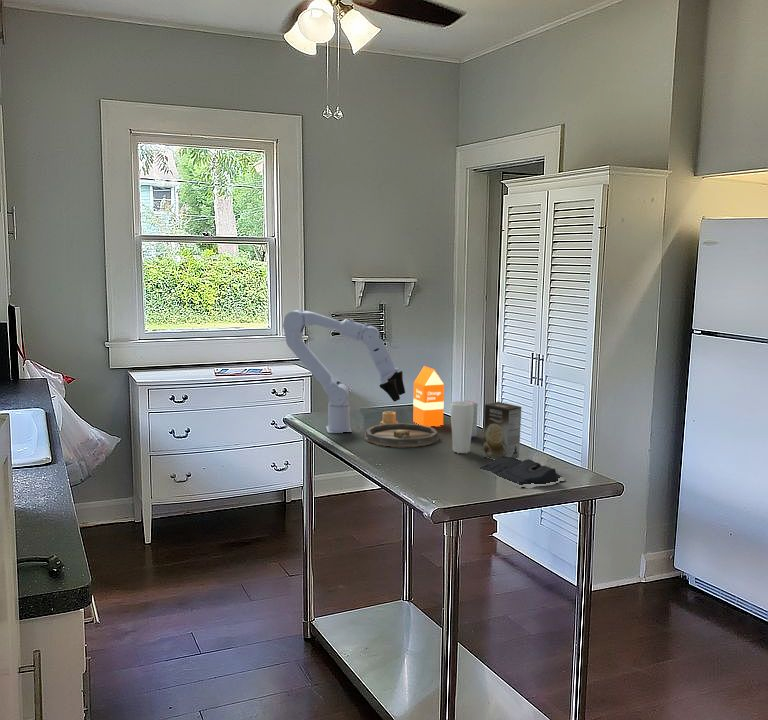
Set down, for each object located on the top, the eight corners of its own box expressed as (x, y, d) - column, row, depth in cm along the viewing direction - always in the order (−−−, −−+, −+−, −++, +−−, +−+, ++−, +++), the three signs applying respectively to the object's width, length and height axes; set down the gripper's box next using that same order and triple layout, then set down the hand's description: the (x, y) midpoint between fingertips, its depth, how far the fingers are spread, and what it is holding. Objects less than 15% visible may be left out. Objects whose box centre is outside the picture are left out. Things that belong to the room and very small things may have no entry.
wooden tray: (360, 430, 263) (360, 423, 262) (430, 429, 266) (430, 421, 266) (369, 448, 239) (369, 440, 239) (446, 446, 243) (446, 438, 243)
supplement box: (477, 437, 255) (478, 403, 253) (461, 439, 252) (462, 404, 251) (467, 434, 260) (468, 400, 258) (452, 435, 257) (453, 401, 256)
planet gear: (378, 423, 274) (378, 411, 273) (396, 423, 275) (396, 410, 274) (381, 427, 268) (381, 414, 267) (399, 427, 269) (400, 414, 268)
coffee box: (482, 457, 230) (483, 404, 228) (496, 454, 235) (497, 401, 232) (506, 464, 224) (508, 408, 221) (520, 460, 228) (522, 406, 226)
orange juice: (423, 427, 269) (424, 369, 266) (412, 422, 277) (413, 366, 274) (443, 425, 272) (444, 368, 269) (432, 420, 280) (433, 365, 277)
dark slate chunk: (517, 464, 225) (517, 448, 225) (570, 484, 206) (570, 466, 206) (473, 471, 218) (474, 454, 217) (524, 492, 199) (525, 474, 198)
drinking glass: (476, 454, 234) (477, 404, 232) (454, 455, 232) (456, 405, 230) (467, 448, 241) (468, 400, 239) (446, 449, 239) (447, 401, 237)
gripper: (387, 361, 251) (405, 398, 252) (398, 350, 264) (415, 386, 266) (368, 369, 253) (386, 406, 254) (380, 358, 267) (397, 394, 268)
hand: (399, 397), depth 260 cm, fingers open, 7 cm apart
